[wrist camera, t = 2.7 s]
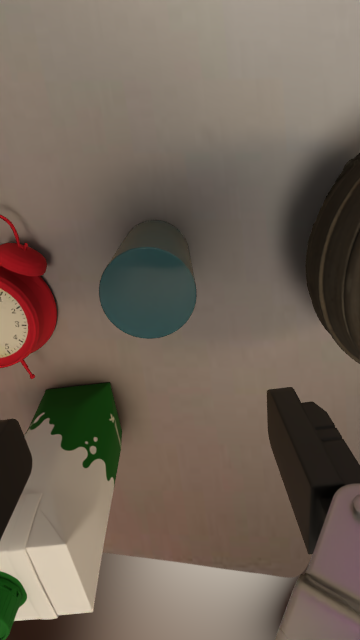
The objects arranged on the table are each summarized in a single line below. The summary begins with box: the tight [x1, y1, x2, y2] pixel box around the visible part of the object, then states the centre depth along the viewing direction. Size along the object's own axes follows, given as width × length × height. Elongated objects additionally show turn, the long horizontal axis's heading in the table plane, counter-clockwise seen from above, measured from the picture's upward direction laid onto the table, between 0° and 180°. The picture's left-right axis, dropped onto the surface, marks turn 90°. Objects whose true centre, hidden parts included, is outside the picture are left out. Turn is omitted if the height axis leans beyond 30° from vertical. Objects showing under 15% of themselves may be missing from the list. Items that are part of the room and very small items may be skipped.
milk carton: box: [0, 382, 122, 640], centre depth 30 cm, size 9×9×20 cm
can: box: [99, 220, 197, 339], centre depth 27 cm, size 6×6×11 cm
